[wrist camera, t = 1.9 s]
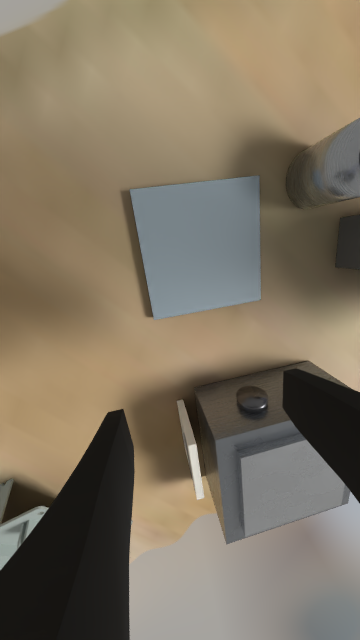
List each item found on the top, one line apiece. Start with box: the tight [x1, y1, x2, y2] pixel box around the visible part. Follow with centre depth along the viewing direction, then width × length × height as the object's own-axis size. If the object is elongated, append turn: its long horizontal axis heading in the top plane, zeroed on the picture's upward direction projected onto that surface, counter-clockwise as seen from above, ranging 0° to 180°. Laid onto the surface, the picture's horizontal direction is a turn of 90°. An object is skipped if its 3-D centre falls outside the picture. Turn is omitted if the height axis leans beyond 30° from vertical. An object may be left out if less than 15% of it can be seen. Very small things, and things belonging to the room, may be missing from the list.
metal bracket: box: [0, 479, 133, 570], centre depth 21 cm, size 14×6×15 cm
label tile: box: [177, 399, 204, 500], centre depth 19 cm, size 1×6×5 cm, turn 8°
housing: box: [194, 361, 353, 544], centre depth 20 cm, size 12×13×7 cm
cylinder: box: [286, 118, 360, 209], centre depth 14 cm, size 4×4×6 cm
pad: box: [130, 175, 261, 320], centre depth 16 cm, size 9×9×1 cm
